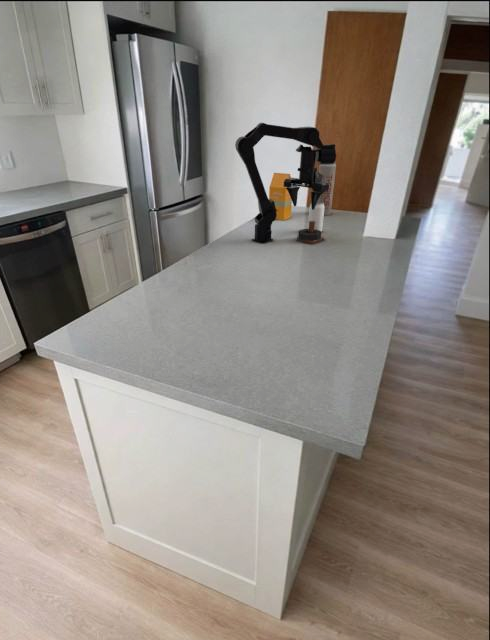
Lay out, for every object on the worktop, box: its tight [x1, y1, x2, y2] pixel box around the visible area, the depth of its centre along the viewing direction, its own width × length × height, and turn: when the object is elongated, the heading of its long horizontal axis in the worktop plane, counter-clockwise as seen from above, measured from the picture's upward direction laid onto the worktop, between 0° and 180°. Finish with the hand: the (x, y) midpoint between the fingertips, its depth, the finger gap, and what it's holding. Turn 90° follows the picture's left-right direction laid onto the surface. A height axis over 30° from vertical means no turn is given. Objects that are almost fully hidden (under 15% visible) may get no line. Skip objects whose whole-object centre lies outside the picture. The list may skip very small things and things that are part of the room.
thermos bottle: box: [318, 162, 337, 216], centre depth 209 cm, size 8×8×28 cm
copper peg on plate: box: [296, 221, 325, 245], centre depth 175 cm, size 8×8×8 cm
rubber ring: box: [297, 228, 322, 240], centre depth 176 cm, size 9×10×2 cm
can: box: [307, 201, 325, 232], centre depth 185 cm, size 6×6×12 cm
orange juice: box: [268, 172, 293, 221], centre depth 205 cm, size 8×9×20 cm
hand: (303, 207), depth 173 cm, fingers open, 9 cm apart
